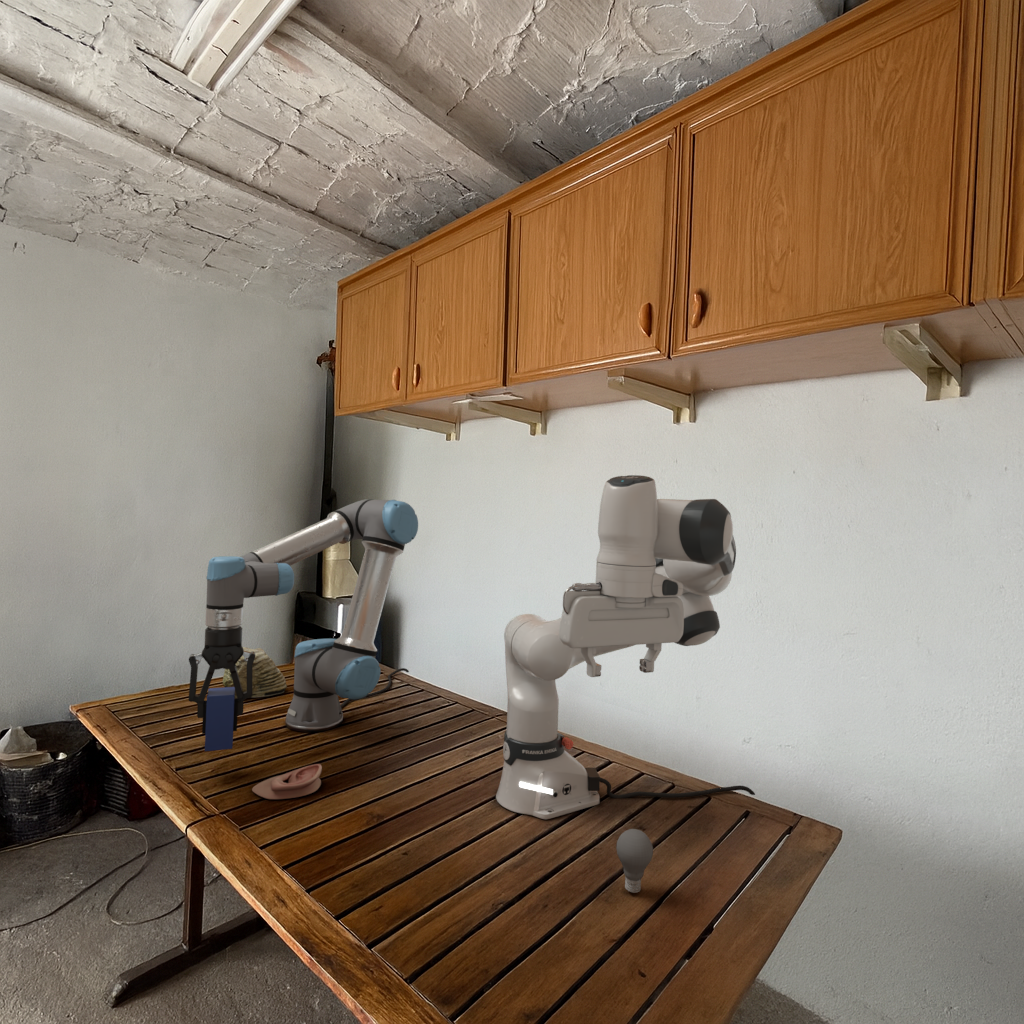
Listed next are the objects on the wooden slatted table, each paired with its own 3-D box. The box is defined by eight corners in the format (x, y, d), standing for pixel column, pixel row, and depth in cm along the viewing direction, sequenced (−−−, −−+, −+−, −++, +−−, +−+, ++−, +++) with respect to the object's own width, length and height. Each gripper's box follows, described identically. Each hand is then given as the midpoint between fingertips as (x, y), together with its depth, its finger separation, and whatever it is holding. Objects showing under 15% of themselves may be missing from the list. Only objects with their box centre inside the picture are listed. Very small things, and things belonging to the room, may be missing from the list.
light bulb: (610, 879, 108) (613, 822, 108) (644, 879, 109) (647, 822, 109) (619, 902, 102) (622, 840, 102) (655, 901, 103) (658, 840, 103)
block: (204, 751, 137) (206, 696, 137) (206, 741, 143) (208, 688, 142) (232, 748, 139) (234, 694, 139) (233, 738, 145) (235, 686, 144)
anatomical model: (244, 776, 132) (275, 755, 144) (243, 795, 132) (274, 772, 144) (301, 785, 130) (329, 762, 141) (301, 804, 130) (328, 780, 141)
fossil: (218, 695, 195) (220, 647, 195) (278, 685, 208) (279, 640, 207) (228, 703, 189) (230, 653, 188) (289, 692, 201) (290, 645, 201)
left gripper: (175, 631, 133) (170, 740, 134) (269, 628, 140) (264, 732, 141) (179, 624, 140) (174, 728, 141) (268, 622, 147) (264, 721, 148)
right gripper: (574, 586, 88) (570, 684, 89) (692, 584, 97) (687, 674, 97) (554, 580, 94) (549, 672, 94) (666, 579, 102) (662, 664, 103)
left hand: (219, 730), depth 141 cm, fingers closed on block, 5 cm apart
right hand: (620, 673), depth 96 cm, fingers open, 8 cm apart
